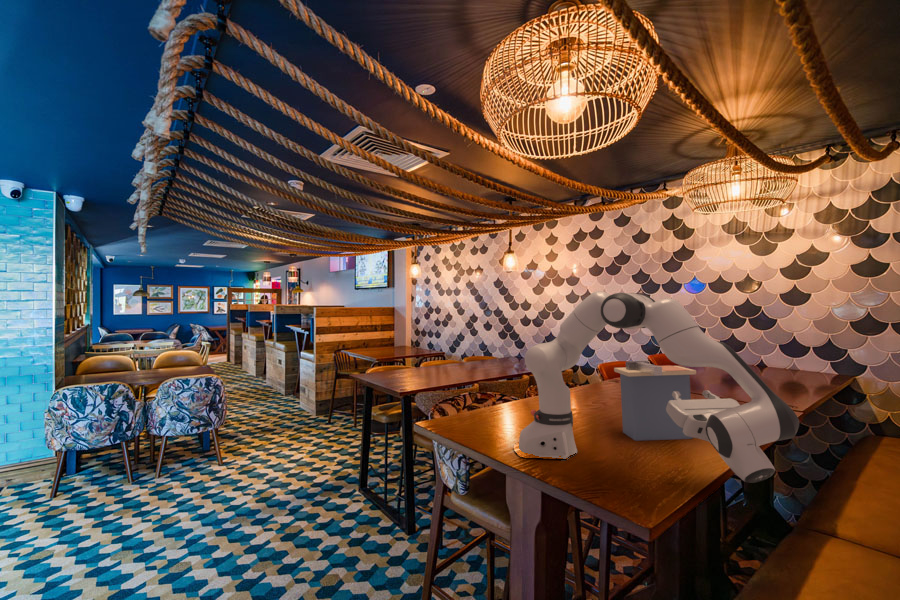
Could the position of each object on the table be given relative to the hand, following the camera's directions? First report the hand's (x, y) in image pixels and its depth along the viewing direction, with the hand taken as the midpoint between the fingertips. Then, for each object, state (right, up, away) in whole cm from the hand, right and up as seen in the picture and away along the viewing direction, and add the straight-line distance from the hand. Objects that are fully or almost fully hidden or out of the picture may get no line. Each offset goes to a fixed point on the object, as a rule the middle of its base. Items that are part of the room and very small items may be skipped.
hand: (689, 392), depth 117 cm
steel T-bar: (0, +1, +26) cm, 26 cm away
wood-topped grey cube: (+7, -25, +31) cm, 40 cm away
